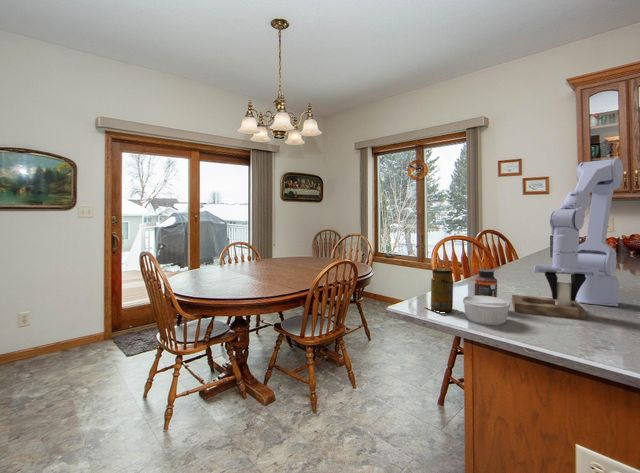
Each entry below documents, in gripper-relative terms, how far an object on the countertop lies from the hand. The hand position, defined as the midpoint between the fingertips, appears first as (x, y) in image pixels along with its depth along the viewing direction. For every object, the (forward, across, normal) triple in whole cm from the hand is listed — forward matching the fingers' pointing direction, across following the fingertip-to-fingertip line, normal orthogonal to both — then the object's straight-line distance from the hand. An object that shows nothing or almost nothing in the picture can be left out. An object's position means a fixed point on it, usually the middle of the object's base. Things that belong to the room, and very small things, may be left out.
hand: (563, 299), depth 92 cm
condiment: (+4, -31, -12) cm, 33 cm away
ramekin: (+4, -20, -16) cm, 26 cm away
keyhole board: (+4, -4, 0) cm, 6 cm away
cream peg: (+3, 0, 0) cm, 3 cm away
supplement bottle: (+4, -20, -4) cm, 21 cm away
